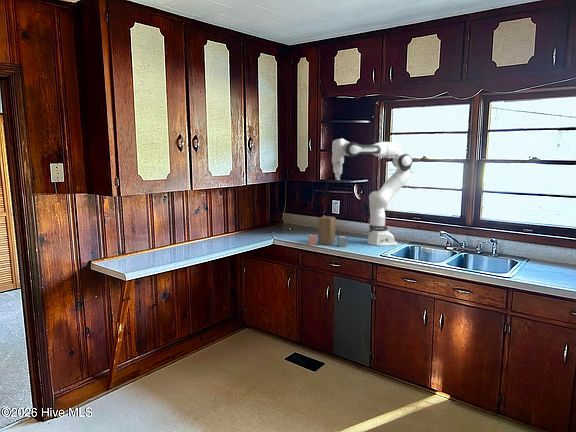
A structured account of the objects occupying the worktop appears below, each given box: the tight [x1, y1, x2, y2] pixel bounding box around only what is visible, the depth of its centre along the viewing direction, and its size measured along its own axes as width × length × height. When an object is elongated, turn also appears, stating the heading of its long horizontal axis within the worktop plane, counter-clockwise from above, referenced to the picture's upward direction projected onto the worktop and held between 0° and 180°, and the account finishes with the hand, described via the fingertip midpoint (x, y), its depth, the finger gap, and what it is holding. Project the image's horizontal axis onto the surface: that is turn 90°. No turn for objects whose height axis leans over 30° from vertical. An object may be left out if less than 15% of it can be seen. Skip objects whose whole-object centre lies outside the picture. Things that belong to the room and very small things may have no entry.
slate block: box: [337, 235, 347, 248], centre depth 308 cm, size 5×5×8 cm
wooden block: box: [317, 215, 336, 246], centre depth 315 cm, size 10×10×20 cm
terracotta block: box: [308, 233, 317, 246], centre depth 312 cm, size 5×5×8 cm
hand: (337, 179), depth 309 cm, fingers open, 8 cm apart
